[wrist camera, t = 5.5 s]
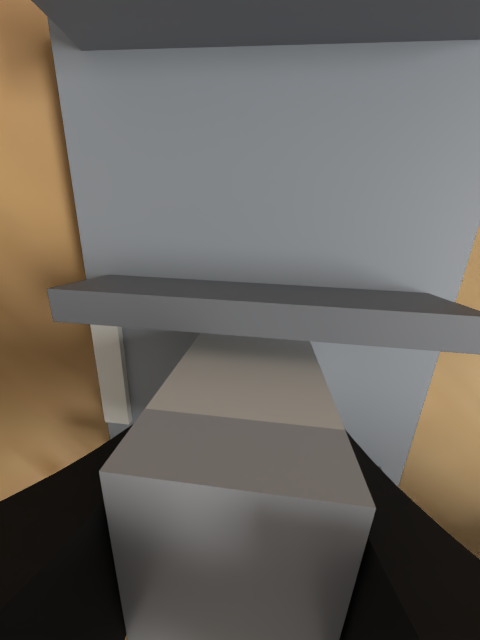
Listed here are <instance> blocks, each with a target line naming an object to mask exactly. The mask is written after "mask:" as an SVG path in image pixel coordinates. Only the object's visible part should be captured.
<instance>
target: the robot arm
mask: <svg viewBox="0 0 480 640" xmlns="http://www.w3.org/2000/svg"><path fill="white" fill-rule="evenodd" d="M132 426H133V424H132V425H131V426H129V427H128V428H127V429H125V430H124V431H122V432H121V433H119V434H118V435H116V436H115V437H113V438H112V439H110V440H109V441H108V442H106V443H105V444H103V445H102V446H100V447H99V448H97V449H95V450H94V451H92V452H91V453H89V454H87V455H86V456H84V457H82V458H81V459H79V460H77V461H76V462H74V463H72V464H70V465H69V466H67V467H65V468H64V469H62V470H60V471H58V472H57V473H55V474H53V475H51V476H49V477H47V478H45V479H43V480H41V481H39V482H37V483H36V484H34V485H32V486H30V487H28V488H26V489H24V490H22V491H20V492H18V493H16V494H14V495H12V496H10V497H8V498H7V499H4V500H2V501H0V640H125V637H126V628H125V622H124V616H123V610H122V604H121V599H120V593H119V587H118V581H117V575H116V569H115V563H114V557H113V552H112V546H111V540H110V534H109V528H108V522H107V516H106V510H105V504H104V499H103V493H102V487H101V481H100V475H99V471H100V469H101V468H102V466H103V465H104V464H105V462H106V461H107V460H108V458H109V457H110V456H111V454H112V453H113V451H114V450H115V449H116V447H117V446H118V445H119V443H120V442H121V441H122V439H123V438H124V436H125V435H126V434H127V432H128V431H129V430H130V428H131V427H132ZM344 429H345V428H344ZM345 431H346V430H345ZM346 434H347V436H348V439H349V441H350V444H351V446H352V449H353V451H354V454H355V456H356V459H357V461H358V464H359V466H360V469H361V472H362V474H363V477H364V479H365V482H366V484H367V487H368V489H369V492H370V494H371V497H372V499H373V502H374V504H375V507H376V510H375V514H374V517H373V521H372V525H371V528H370V532H369V535H368V539H367V542H366V546H365V550H364V553H363V557H362V560H361V564H360V567H359V571H358V574H357V578H356V582H355V585H354V589H353V592H352V596H351V599H350V603H349V607H348V610H347V614H346V617H345V621H344V624H343V628H342V632H341V635H340V639H339V640H480V560H479V559H478V558H477V557H476V556H475V555H473V554H472V553H471V552H470V551H469V550H467V549H466V548H465V547H464V546H463V545H461V544H460V543H459V542H458V541H457V540H455V539H454V538H453V537H452V536H451V535H450V534H448V533H447V532H446V531H445V530H444V529H443V528H442V527H440V526H439V525H438V524H437V523H436V522H435V521H434V520H433V519H432V518H431V517H429V516H428V515H427V514H426V513H425V512H424V511H423V510H422V509H421V508H420V507H419V506H417V505H416V504H415V503H414V502H413V501H412V500H411V499H410V498H409V497H408V496H407V495H406V494H405V493H404V492H403V491H402V490H401V489H399V488H398V487H397V486H396V485H395V483H394V482H393V481H392V480H391V479H390V478H389V477H388V476H387V475H386V474H385V473H384V472H383V471H382V470H381V469H380V468H379V467H378V466H377V465H376V464H375V463H374V462H373V461H372V460H371V458H370V457H369V456H368V455H367V454H366V453H365V452H364V451H363V449H362V448H361V447H360V446H359V445H358V444H357V443H356V442H355V440H354V439H353V438H352V437H351V436H350V434H349V433H348V432H347V431H346Z"/></svg>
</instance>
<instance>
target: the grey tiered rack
mask: <svg viewBox="0 0 480 640" xmlns="http://www.w3.org/2000/svg"><path fill="white" fill-rule="evenodd" d="M32 1H33V2H34V3H35V4H36V5H37V6H38V7H39V8H40V9H41V10H42V11H43V12H44V13H45V14H46V15H47V17H48V24H49V31H50V37H51V44H52V51H53V58H54V64H55V71H56V78H57V85H58V91H59V98H60V105H61V112H62V118H63V125H64V132H65V139H66V145H67V152H68V159H69V166H70V173H71V179H72V186H73V193H74V200H75V206H76V213H77V220H78V227H79V233H80V240H81V247H82V254H83V260H84V267H85V274H86V280H83V281H78V282H74V283H70V284H65V285H61V286H56V287H52V288H48V289H47V292H48V297H49V302H50V307H51V312H52V317H53V322H65V323H78V324H90V327H91V333H92V340H93V347H94V353H95V360H96V366H97V373H98V380H99V386H100V393H101V399H102V406H103V412H104V419H105V422H107V423H108V429H109V436H110V439H112V438H113V437H115V436H116V435H118V434H119V433H121V432H122V431H124V430H125V429H127V428H128V427H129V426H131V425H132V424H134V423H135V421H136V420H137V419H138V417H139V416H140V415H141V413H142V412H143V411H144V409H145V408H146V406H147V405H148V404H149V402H150V401H151V400H152V398H153V397H154V396H155V394H156V393H157V391H158V390H159V389H160V387H161V386H162V385H163V383H164V382H165V381H166V379H167V378H168V376H169V375H170V374H171V372H172V371H173V370H174V368H175V367H176V366H177V364H178V363H179V362H180V360H181V359H182V357H183V356H184V355H185V353H186V352H187V351H188V349H189V348H190V347H191V345H192V344H193V342H194V341H195V340H196V338H197V337H198V336H199V334H200V333H208V334H221V335H234V336H247V337H260V338H273V339H286V340H299V341H310V343H311V345H312V348H313V350H314V353H315V355H316V358H317V360H318V363H319V365H320V368H321V370H322V373H323V375H324V378H325V381H326V383H327V386H328V388H329V391H330V393H331V396H332V398H333V401H334V403H335V406H336V408H337V411H338V413H339V416H340V418H341V421H342V423H343V426H344V428H345V430H346V431H347V432H348V433H349V434H350V436H351V437H352V438H353V439H354V440H355V442H356V443H357V444H358V445H359V446H360V447H361V448H362V449H363V451H364V452H365V453H366V454H367V455H368V456H369V457H370V458H371V460H372V461H373V462H374V463H375V464H376V465H377V466H378V467H379V468H380V469H381V470H382V471H383V472H384V473H385V474H386V475H387V476H388V477H389V478H390V479H391V480H392V481H393V482H394V483H395V485H396V486H397V487H398V485H399V482H400V479H401V476H402V473H403V469H404V466H405V463H406V460H407V456H408V453H409V450H410V447H411V443H412V440H413V437H414V434H415V430H416V427H417V424H418V421H419V418H420V414H421V411H422V408H423V405H424V401H425V398H426V395H427V392H428V388H429V385H430V382H431V379H432V376H433V372H434V369H435V366H436V363H437V359H438V356H439V353H440V351H441V352H454V353H467V354H480V311H478V310H475V309H472V308H469V307H467V306H464V305H461V304H458V303H455V301H456V298H457V295H458V291H459V288H460V285H461V282H462V279H463V275H464V272H465V269H466V266H467V262H468V259H469V256H470V253H471V249H472V246H473V243H474V240H475V237H476V233H477V230H478V227H479V224H480V0H32Z"/></svg>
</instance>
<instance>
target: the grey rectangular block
mask: <svg viewBox="0 0 480 640" xmlns="http://www.w3.org/2000/svg"><path fill="white" fill-rule="evenodd" d="M99 475H100V481H101V487H102V493H103V499H104V504H105V510H106V516H107V522H108V528H109V534H110V540H111V546H112V552H113V557H114V563H115V569H116V575H117V581H118V587H119V593H120V599H121V604H122V610H123V616H124V622H125V628H126V634H127V640H339V639H340V635H341V632H342V628H343V624H344V621H345V617H346V614H347V610H348V607H349V603H350V599H351V596H352V592H353V589H354V585H355V582H356V578H357V574H358V571H359V567H360V564H361V560H362V557H363V553H364V550H365V546H366V542H367V539H368V535H369V532H370V528H371V525H372V521H373V517H374V514H375V510H376V507H375V504H374V502H373V499H372V497H371V494H370V492H369V489H368V487H367V484H366V482H365V479H364V477H363V474H362V472H361V469H360V466H359V464H358V461H357V459H356V456H355V454H354V451H353V449H352V446H351V444H350V441H349V439H348V436H347V434H346V431H345V429H344V426H343V423H342V421H341V418H340V416H339V413H338V411H337V408H336V406H335V403H334V401H333V398H332V396H331V393H330V391H329V388H328V386H327V383H326V381H325V378H324V375H323V373H322V370H321V368H320V365H319V363H318V360H317V358H316V355H315V353H314V350H313V348H312V345H311V343H310V341H299V340H286V339H273V338H260V337H247V336H234V335H221V334H208V333H200V334H199V336H198V337H197V338H196V340H195V341H194V342H193V344H192V345H191V347H190V348H189V349H188V351H187V352H186V353H185V355H184V356H183V357H182V359H181V360H180V362H179V363H178V364H177V366H176V367H175V368H174V370H173V371H172V372H171V374H170V375H169V376H168V378H167V379H166V381H165V382H164V383H163V385H162V386H161V387H160V389H159V390H158V391H157V393H156V394H155V396H154V397H153V398H152V400H151V401H150V402H149V404H148V405H147V406H146V408H145V409H144V411H143V412H142V413H141V415H140V416H139V417H138V419H137V420H136V421H135V423H134V424H133V426H132V427H131V428H130V430H129V431H128V432H127V434H126V435H125V436H124V438H123V439H122V441H121V442H120V443H119V445H118V446H117V447H116V449H115V450H114V451H113V453H112V454H111V456H110V457H109V458H108V460H107V461H106V462H105V464H104V465H103V466H102V468H101V469H100V471H99Z"/></svg>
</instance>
